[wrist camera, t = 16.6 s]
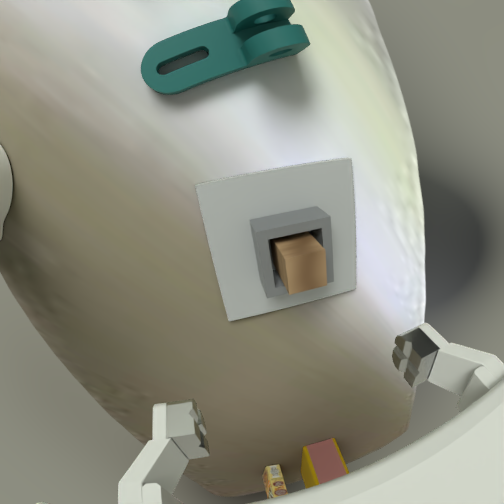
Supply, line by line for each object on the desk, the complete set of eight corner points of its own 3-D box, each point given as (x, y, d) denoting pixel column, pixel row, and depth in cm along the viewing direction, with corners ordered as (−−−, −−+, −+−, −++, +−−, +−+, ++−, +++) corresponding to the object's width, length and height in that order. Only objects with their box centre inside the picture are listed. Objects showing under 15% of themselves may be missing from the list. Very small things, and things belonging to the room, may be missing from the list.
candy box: (265, 465, 67) (276, 509, 53) (280, 463, 68) (292, 507, 54) (261, 476, 71) (271, 516, 57) (275, 474, 72) (286, 514, 58)
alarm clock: (327, 464, 75) (352, 528, 51) (300, 472, 74) (322, 538, 50) (335, 437, 66) (367, 515, 42) (302, 446, 65) (331, 528, 41)
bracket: (276, 10, 27) (294, -14, 20) (296, 54, 30) (319, 38, 23) (137, 58, 27) (120, 41, 20) (156, 104, 30) (143, 97, 23)
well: (228, 317, 43) (232, 341, 38) (195, 184, 35) (194, 194, 30) (353, 285, 45) (369, 304, 40) (347, 157, 36) (368, 163, 32)
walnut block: (273, 263, 40) (289, 294, 33) (268, 232, 38) (285, 259, 31) (305, 256, 40) (327, 285, 33) (302, 225, 38) (325, 249, 31)
